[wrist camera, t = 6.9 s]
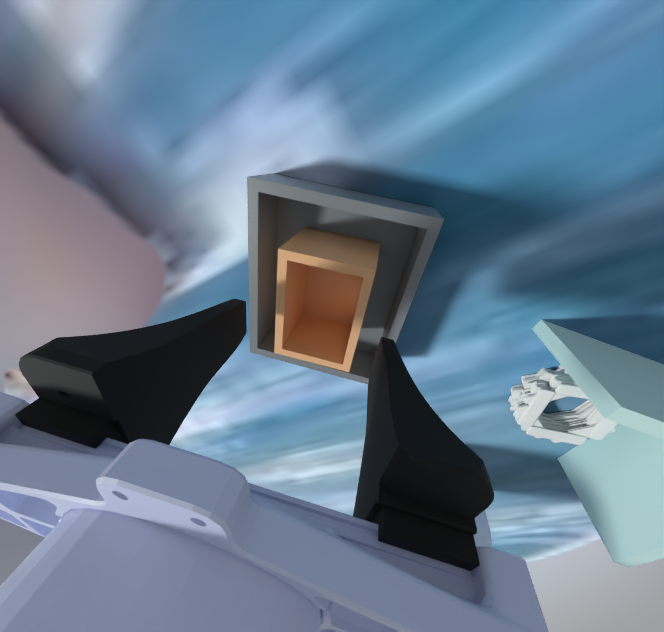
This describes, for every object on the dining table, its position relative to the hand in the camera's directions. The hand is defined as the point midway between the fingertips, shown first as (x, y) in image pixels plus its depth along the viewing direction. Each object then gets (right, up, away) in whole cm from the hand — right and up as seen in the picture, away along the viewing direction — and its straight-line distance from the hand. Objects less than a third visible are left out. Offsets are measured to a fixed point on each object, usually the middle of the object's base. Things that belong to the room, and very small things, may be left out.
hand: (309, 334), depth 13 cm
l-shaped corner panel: (+20, -6, +8) cm, 22 cm away
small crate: (+1, +3, +5) cm, 7 cm away
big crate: (+1, +4, +6) cm, 7 cm away
